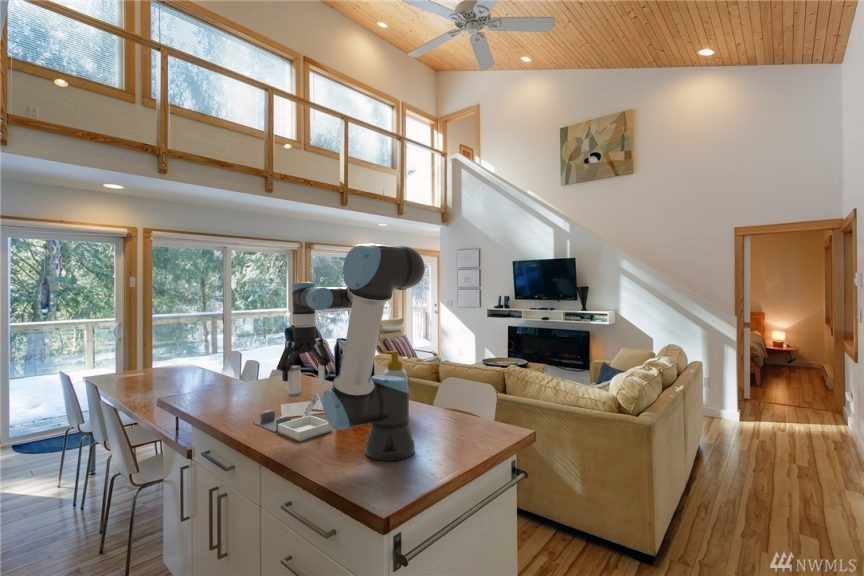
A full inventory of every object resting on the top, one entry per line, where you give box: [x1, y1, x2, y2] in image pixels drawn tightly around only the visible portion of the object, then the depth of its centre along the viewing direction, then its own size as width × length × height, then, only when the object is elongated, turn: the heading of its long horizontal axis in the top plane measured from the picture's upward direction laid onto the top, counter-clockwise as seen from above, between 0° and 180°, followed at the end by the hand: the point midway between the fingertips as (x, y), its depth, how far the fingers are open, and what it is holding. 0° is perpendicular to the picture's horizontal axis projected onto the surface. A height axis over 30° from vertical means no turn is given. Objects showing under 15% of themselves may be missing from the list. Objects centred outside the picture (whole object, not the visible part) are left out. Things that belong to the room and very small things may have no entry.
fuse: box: [287, 365, 302, 398], centre depth 147 cm, size 4×4×10 cm
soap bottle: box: [382, 350, 407, 380], centre depth 170 cm, size 9×9×25 cm
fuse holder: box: [253, 409, 292, 433], centre depth 158 cm, size 15×9×4 cm, turn 50°
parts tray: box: [277, 414, 333, 442], centre depth 151 cm, size 13×13×3 cm
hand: (305, 387), depth 150 cm, fingers open, 13 cm apart
